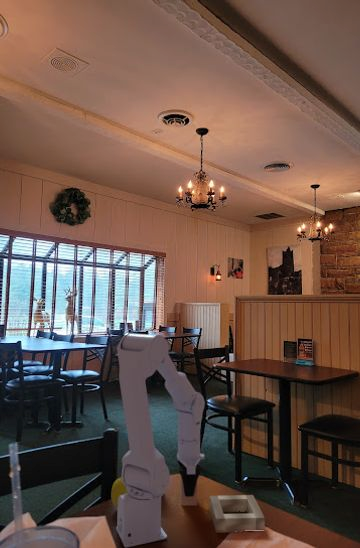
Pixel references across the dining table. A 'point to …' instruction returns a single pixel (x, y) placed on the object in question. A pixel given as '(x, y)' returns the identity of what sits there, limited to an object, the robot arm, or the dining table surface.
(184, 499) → the peg
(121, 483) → the lemon
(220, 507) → the collar
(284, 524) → the dining table surface
